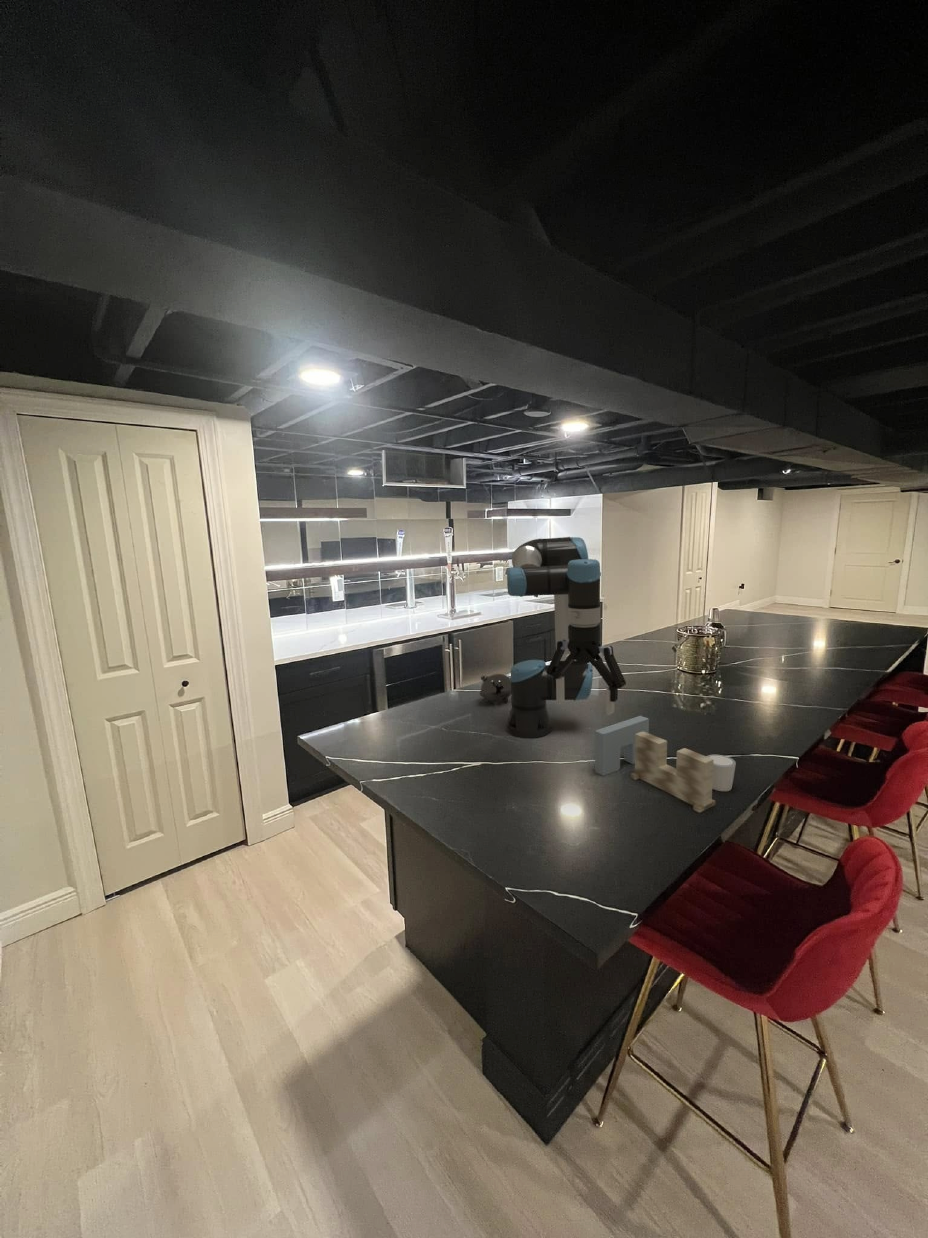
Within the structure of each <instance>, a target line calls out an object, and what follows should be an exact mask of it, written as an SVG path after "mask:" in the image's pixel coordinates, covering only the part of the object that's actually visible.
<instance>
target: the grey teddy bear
mask: <svg viewBox="0 0 928 1238" xmlns="http://www.w3.org/2000/svg"><path fill="white" fill-rule="evenodd" d="M510 678H511V675H508V676H507V674H503V673H494V674H490V675H482V676H480V680H481V681H482V684H481V685H480V686H481V687H480V691H479V696H480V697H481V698H484V700H486V703H488V702H490V703H493V705H494V706H495V705H498V706H499V704H500V702H503V703H504V704H508V703H509V697H511V682H510ZM507 702H508V703H507Z"/></svg>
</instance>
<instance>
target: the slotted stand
mask: <svg viewBox="0 0 928 1238" xmlns="http://www.w3.org/2000/svg"><path fill="white" fill-rule="evenodd" d="M667 756H668V741H667V740H666V739H664V738H661V737H658V736H656V735H654V734H652V733H650V732H649V733H646V732H644V731H642V732H640V733H637V734H635V764H634V772H633V773H631V774H630V778H631V779H633V780H635V781H636V780H639V779H640V780H642V781H643V782H646V783H648V784H650V785H651V786H654V787H656V788H657V789H660V790H662V791H663V792H666V793H667V794H670V795H672V796H673V797H676V798H677V799H679V800H682V801H683V802H685V803H687V804H690V805H692V806H693V807H692V810H693V811H695V812H697V813H699V814H700V813H702V812H704V811H706V810H708V809H710V808H711V807H714V806H715V805H716V800H715V799H712V798H713V789H712V783H713V760H714V759H711V758H709V757H706V756H707V755H706V756H705V755H703V754H701V753H699V752H696V751H694V750H691V749H688V748H685V747H684V748H681V749H679V750H677V751H676V763H675V766H676V767H673V766H671V765H669V764H667V760H668V759H667V758H668V757H667Z"/></svg>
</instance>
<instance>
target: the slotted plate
mask: <svg viewBox="0 0 928 1238" xmlns="http://www.w3.org/2000/svg"><path fill="white" fill-rule="evenodd" d="M649 728H650V719H649V718H648V717H644V716H642V715H637V716H636V717H632V718H630V719H626V720H623V721H620V722H617V723H614V724H611V725H608V726H605V727H602V728H599V729H596V730H594V772H596V773H597V774H599V775H601V776H603V777H604V776H607V775H610V774H612V773H614V772H616V771H619V770H621V748H623V747H624V752H623V753H624V754H623V755H624V758H623V760H624V761H625V762H627V763H629V764H631V765H635V734H637V733H640V732H642V731H644V732H646V733H649V734H650V732H649V731H650V729H649Z"/></svg>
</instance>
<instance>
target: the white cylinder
mask: <svg viewBox="0 0 928 1238" xmlns="http://www.w3.org/2000/svg"><path fill="white" fill-rule="evenodd" d="M706 757H709V758H711V759H714V760H713V783H712V790H715V791H719V792H729V791H731V790H732V789H733V788H732V787H733V784H734V777H735V770H736V763H737V762H736V761H735V760H734V759H733V758H732V757H730V756H727V755H723V754H715V753H714V754H709V755H706Z"/></svg>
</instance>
